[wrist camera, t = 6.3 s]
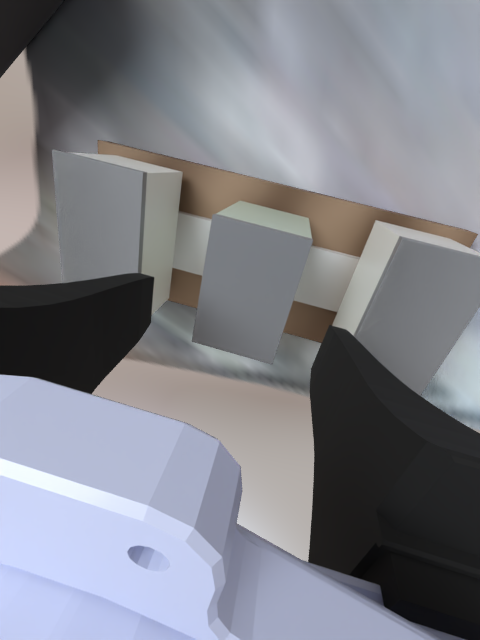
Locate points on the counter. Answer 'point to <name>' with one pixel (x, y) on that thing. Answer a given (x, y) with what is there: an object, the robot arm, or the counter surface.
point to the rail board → (323, 211)
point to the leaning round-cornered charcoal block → (21, 26)
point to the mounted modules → (359, 300)
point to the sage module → (250, 279)
